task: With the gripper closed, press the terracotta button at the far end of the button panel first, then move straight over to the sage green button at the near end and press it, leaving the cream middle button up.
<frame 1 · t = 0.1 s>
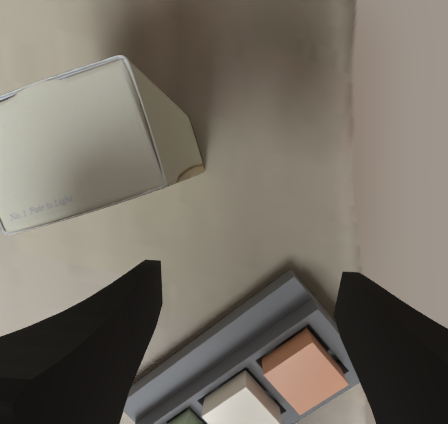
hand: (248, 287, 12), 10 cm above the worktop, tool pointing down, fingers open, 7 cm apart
cream button: (241, 411, 21), point 3 cm above the worktop, slide at 0.0 cm
skincare box: (159, 153, 21), on the worktop
button panel: (241, 375, 24), on the worktop
terracotta button: (303, 371, 20), point 4 cm above the worktop, slide at 0.0 cm
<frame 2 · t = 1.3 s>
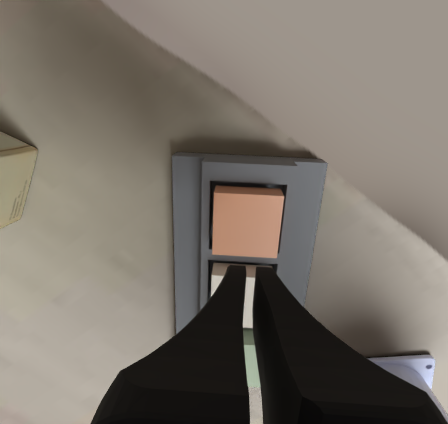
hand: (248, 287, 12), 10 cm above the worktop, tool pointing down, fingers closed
green button: (236, 356, 22), point 3 cm above the worktop, slide at 0.0 cm
cream button: (240, 295, 20), point 3 cm above the worktop, slide at 0.0 cm
skincare box: (4, 170, 22), on the worktop
button panel: (240, 268, 23), on the worktop
terracotta button: (246, 221, 18), point 4 cm above the worktop, slide at 0.0 cm
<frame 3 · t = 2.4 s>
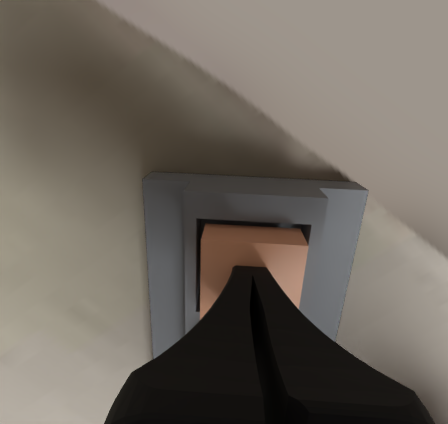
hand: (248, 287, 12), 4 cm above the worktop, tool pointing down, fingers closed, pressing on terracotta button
button panel: (241, 323, 17), on the worktop
terracotta button: (249, 277, 12), point 3 cm above the worktop, slide at 0.1 cm, touching gripper
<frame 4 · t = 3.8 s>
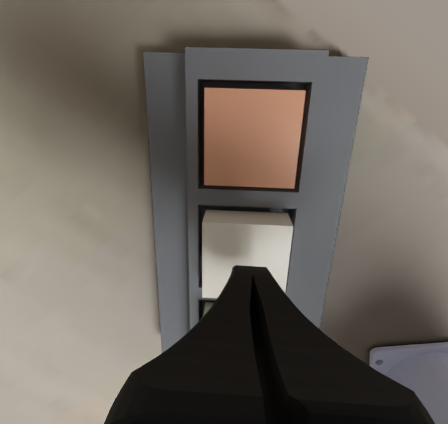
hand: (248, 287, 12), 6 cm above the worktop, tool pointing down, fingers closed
green button: (239, 342, 16), point 4 cm above the worktop, slide at 0.0 cm
cream button: (244, 255, 14), point 4 cm above the worktop, slide at 0.0 cm
button panel: (243, 226, 17), on the worktop
terracotta button: (250, 138, 13), point 3 cm above the worktop, slide at 0.7 cm
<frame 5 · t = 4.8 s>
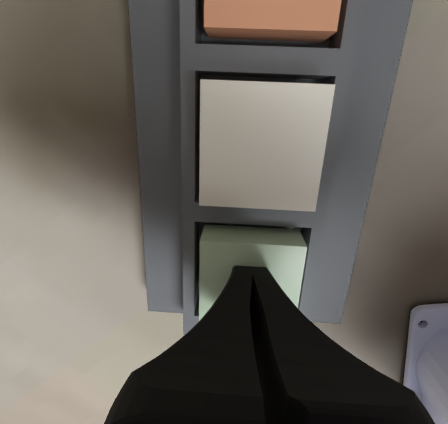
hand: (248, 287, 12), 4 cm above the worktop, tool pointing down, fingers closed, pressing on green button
green button: (248, 277, 12), point 3 cm above the worktop, slide at 0.3 cm, touching gripper
cream button: (260, 146, 10), point 4 cm above the worktop, slide at 0.0 cm
button panel: (255, 136, 13), on the worktop
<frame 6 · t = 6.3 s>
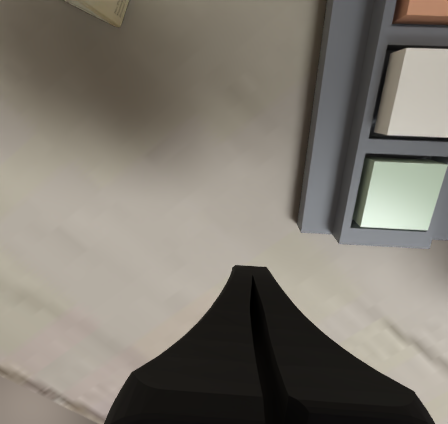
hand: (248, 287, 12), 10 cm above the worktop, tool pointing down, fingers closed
green button: (395, 193, 18), point 3 cm above the worktop, slide at 0.7 cm
cream button: (427, 95, 15), point 3 cm above the worktop, slide at 0.0 cm
button panel: (394, 97, 18), on the worktop
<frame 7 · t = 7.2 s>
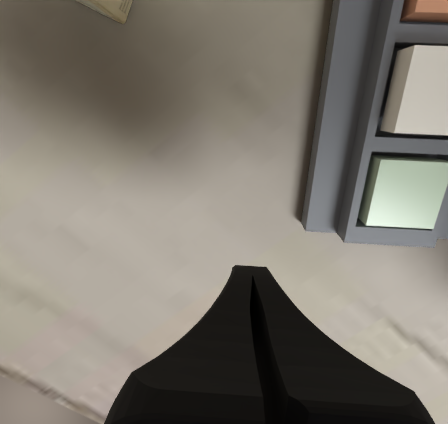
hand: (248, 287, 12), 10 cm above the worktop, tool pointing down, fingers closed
green button: (401, 191, 18), point 3 cm above the worktop, slide at 0.7 cm
cream button: (435, 93, 15), point 4 cm above the worktop, slide at 0.0 cm
button panel: (400, 95, 18), on the worktop
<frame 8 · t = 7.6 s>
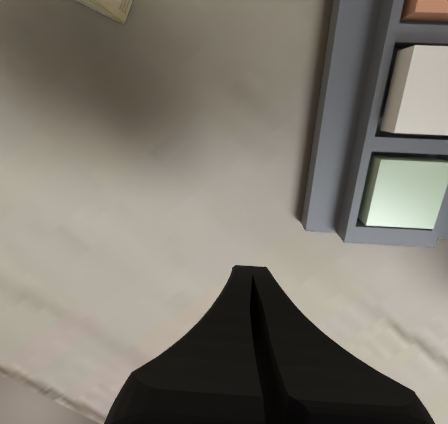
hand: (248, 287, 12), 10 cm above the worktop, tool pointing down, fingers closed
green button: (401, 191, 18), point 3 cm above the worktop, slide at 0.7 cm
cream button: (435, 93, 15), point 3 cm above the worktop, slide at 0.0 cm
button panel: (400, 95, 18), on the worktop
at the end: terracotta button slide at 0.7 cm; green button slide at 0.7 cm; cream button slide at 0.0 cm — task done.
